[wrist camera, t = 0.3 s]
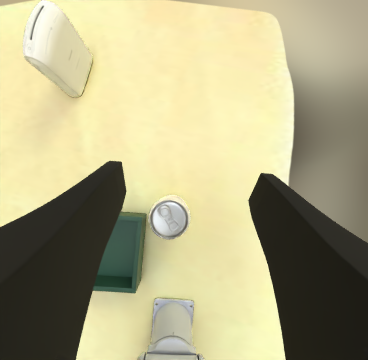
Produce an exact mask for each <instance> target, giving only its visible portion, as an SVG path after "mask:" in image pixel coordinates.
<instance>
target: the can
mask: <svg viewBox="0 0 368 360" xmlns="http://www.w3.org/2000/svg"><path fill="white" fill-rule="evenodd" d="M190 219H191V216H190V211H189V208H188V206H187V204H186V203H185V201H184V200H183V199H182V198H181V197H179V196H177V195H166V196H164V197H162V198H161V199H159V200H158V201H156V202H155V203H154V204H153V206H152V207H151V209H150V212H149V224H150V227H151V229H152V230H153V232H154V233H155V234H156V235H157V236H159V237H161V238H163V239H174V238H177V237H179V236H181V235H182V234H184V233H185V231H186V230H187V229H188V227H189V224H190Z"/></svg>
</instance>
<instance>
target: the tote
mask: <svg viewBox="0 0 368 360" xmlns="http://www.w3.org/2000/svg"><path fill="white" fill-rule="evenodd" d="M146 215H147V214H143V213H130V212H120V214H119V217H118V219H117V222H116V224H115V227H114V229H113V231H112V234H111V236H110V239H109V241H108V243H107V246H106V248H105V251H104V254H103V257H102V260H101V263H100V267H99V270H98V273H97V277H96V280H95V284H94V287H93V291H109V292H125V293H136V290H137V288H138V285H139V283H140V281H141V271H142V260H143V248H144V237H145V226H146Z"/></svg>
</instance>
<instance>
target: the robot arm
mask: <svg viewBox="0 0 368 360" xmlns="http://www.w3.org/2000/svg"><path fill="white" fill-rule="evenodd" d="M125 195H126V186H125V180H124V173H123V167H122V162H117V161H109V162H107V163H106V164H104V165H103V166H101V167H100V168H99V169H97V170H96V171H95V172H93V173H92V174H90V175H89V176H88V177H86V178H85V179H83V180H82V181H81V182H79V183H78V184H76V185H75V186H73V187H72V188H70V189H69V190H67V191H66V192H64V193H63V194H61V195H59V196H58V197H56V198H55V199H53V200H51V201H50V202H48V203H46V204H45V205H43V206H41V207H39V208H37V209H36V210H34V211H32V212H30V213H28V214H26V215H24V216H22V217H20V218H18V219H16V220H14V221H12V222H10V223H8V224H6V225H4V226H2V227H0V360H76V356H77V351H78V347H79V343H80V338H81V334H82V330H83V325H84V321H85V317H86V314H87V310H88V306H89V302H90V298H91V294H92V291H93V287H94V284H95V280H96V277H97V273H98V270H99V267H100V263H101V260H102V257H103V254H104V251H105V248H106V246H107V243H108V241H109V239H110V236H111V234H112V231H113V229H114V227H115V224H116V222H117V219H118V217H119V214H120V212H121V209H122V206H123V203H124V199H125ZM248 201H249V206H250V212H251V216H252V220H253V223H254V226H255V229H256V231H257V234H258V237H259V240H260V243H261V246H262V248H263V251H264V254H265V257H266V260H267V264H268V267H269V272H270V276H271V280H272V284H273V289H274V293H275V298H276V303H277V308H278V313H279V319H280V325H281V330H282V337H283V344H284V351H285V358H286V360H368V243H367V242H365V241H363V240H362V239H360V238H359V237H357V236H356V235H354V234H352V233H351V232H349V231H348V230H346V229H345V228H343V227H342V226H340V225H339V224H337V223H336V222H334V221H333V220H331V219H330V218H329V217H327V216H326V215H325V214H323V213H322V212H320V211H319V210H318V209H316V208H315V207H314V206H312V205H311V204H310V203H309V202H307V201H306V200H305V199H304V198H302V197H301V196H300V195H299V194H297V193H296V192H295V191H294V190H292V189H291V188H290V187H289V186H287V185H286V184H285V183H284V182H282V181H281V180H280V179H279V178H277V177H276V176H274V175H273V174H265V173H261V174H260V176H259V178H258V181H257V183H256V185H255V187H254V189H253V192H252V194H251V196H250V198H249V200H248ZM156 303H158V304H156ZM190 305H192V306H190ZM193 308H194V302H193V301H192V300H180V299H163V298H156V299H155V301H154V312H153V324H152V336H151V344H150V345H149V346H148V350H147V354H146V352H142V353H141V355H140V356H139V357H138V358H137V360H205V359H204V358H203V356H202V354H198V355H196V347H193V339H192V322H193Z"/></svg>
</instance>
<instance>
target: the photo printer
mask: <svg viewBox="0 0 368 360" xmlns="http://www.w3.org/2000/svg"><path fill="white" fill-rule="evenodd" d="M23 54H24V58H25V59H26V60H27V61H28V62H29V63H30V64H31V65H32V66H34V67H35V68H36V69H37V70H38V71H40V72H41V73H42V74H43V75H45V76H46V77H47V78H48V79H49V80H50V81H52V82H53V83H54V84H55V85H57V86H58V87H59V88H60V89H61V90H63V91H64V92H66V93H67V94H68V95H69V96H71V97H79V96H81V94H82V93H83V90H84V87H85V84H86V81H87V78H88V75H89V72H90V68H91V64H92V59H93V56H92V54H91V52H90V51H89V49H88V47H87V46H86V44H85V43H84V41H83V40H82V38H81V37H80V35H79V34H78V32H77V31H76V29H75V28H74V26H73V24H72V23H71V21H70V20H69V18H68V17H67V15H66V14H65V13H64V12H63V10H62V9H60V8H59V7H58V6H57V5H56V4H54V3H53V2H51V1H46V0H41V1H40V2H39V3H38V4H37V5H36V6H35V7H34V9H33V11H32V12H31V14H30V16H29V19H28V21H27V24H26V28H25V32H24V38H23Z"/></svg>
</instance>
